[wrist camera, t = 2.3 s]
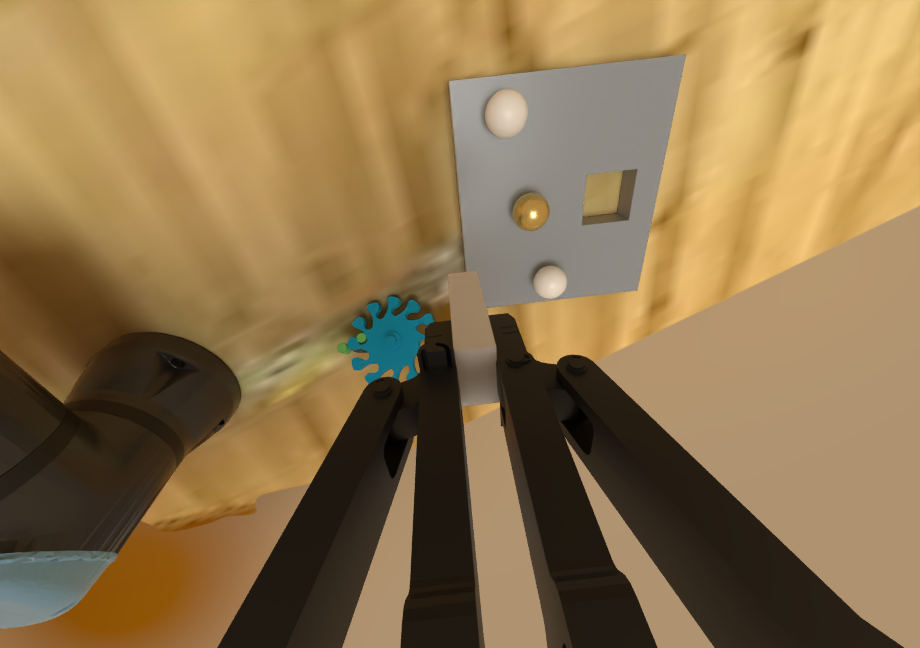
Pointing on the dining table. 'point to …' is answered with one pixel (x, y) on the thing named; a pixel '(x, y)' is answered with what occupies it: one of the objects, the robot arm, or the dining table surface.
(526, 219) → the ball
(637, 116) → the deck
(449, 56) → the dining table surface
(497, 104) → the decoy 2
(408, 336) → the gear
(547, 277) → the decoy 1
